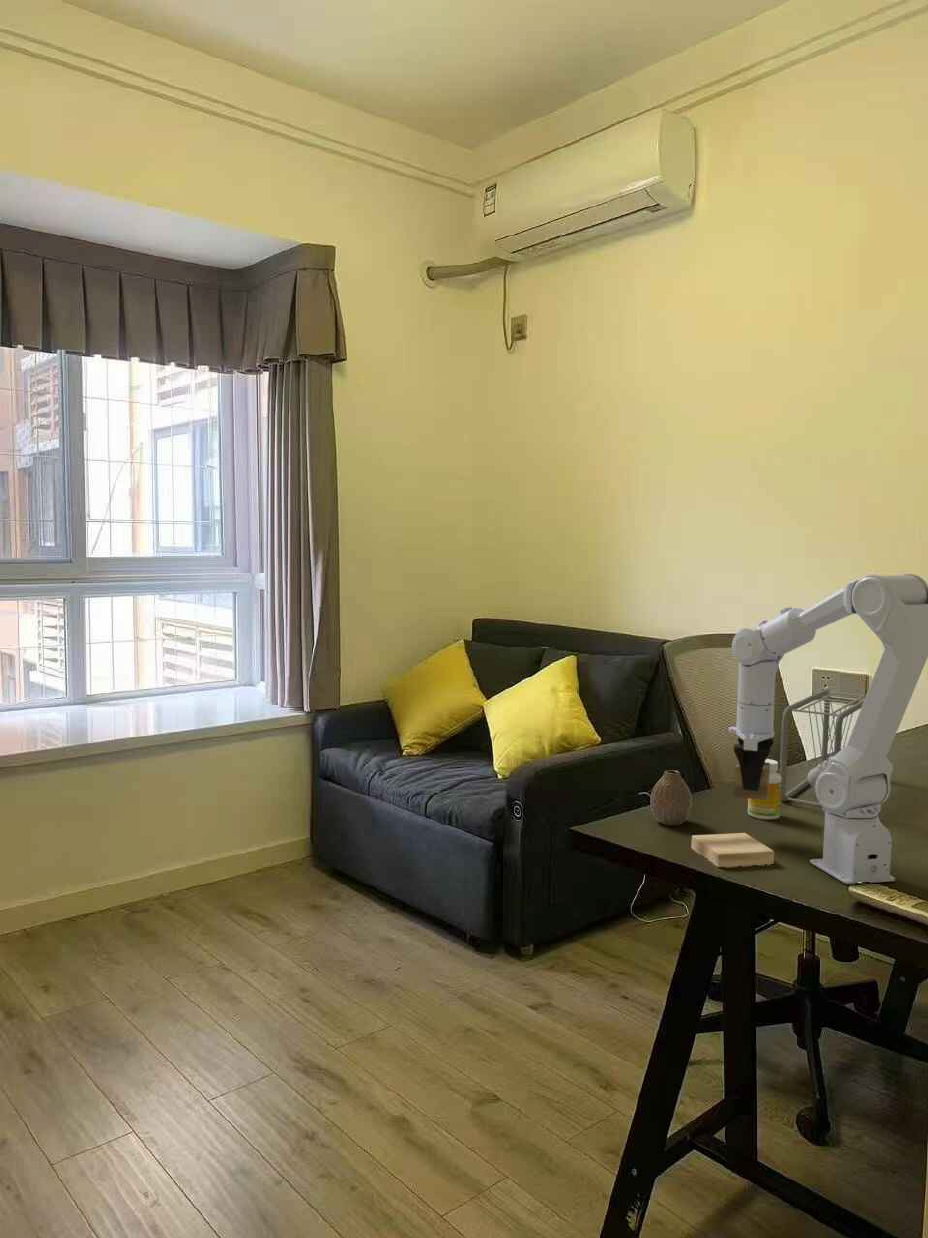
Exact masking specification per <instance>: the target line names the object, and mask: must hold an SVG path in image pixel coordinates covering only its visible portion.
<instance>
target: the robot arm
mask: <svg viewBox="0 0 928 1238" xmlns="http://www.w3.org/2000/svg"><path fill="white" fill-rule="evenodd" d="M779 612H780V614H779V615H777V616H776V617H775V616H774V617H773V618H772V619H770V620H762V621H760V622H759V623H758V626H757V627H756V628H749V627H747V628H744V627H743V628H741V629H740V630H739V631H738V632H737V633H736V634H735V635H734V636H733V639H732V642H731V652H732V655H733V658H734V659H735V660H736V662H737V663H738V675H737V676H738V677H737V678H738V679H737V680H738V682H737V702H736V709H737V710H736V726H729V727H728V733H729V734H735V735H736V736H738V738H737V741H738V743H737V744H736V743H734V744H733V752H734V754H735V756H736V758H737V761H739V765H740V770H741V776H742V783H743V788H744V790H753V791H757V790H758V787H759V783H760V779H761V774H762V769H763V765H764V763H765V760H766V759H768V756H769V755H770V753H771V747H772V746H773V744H774V738H773V737H775V730H774V720H775V719H774V718H775V717H774V715H775V697H776V696H775V695H776V693H775V692H776V674H778V671H779V664H780V662H781V660H782V659H783V658H784V656H785V654H788V653H789V652H792V651H794V650H796V649H797V648H800V647H802V646H804V645H807V644H808V643H810V642H812V641H813V640H814V638H815V635H816V634H817V630H819V629H822V628H823V627H826V626H828V625H830V624H833V623H835V622H837V621H840V620H843V619H845V618H847V617H849V616H851V615H854V614H855V615H856V614H857V616H858V617H860V619H861V620H862V621H863V622H864V623H865V624H866V626H867V627H869V629H870V630H871V631H872V632H873V633H874V635H875V636H876V637H877V638H878V639H879V640H880V642H881V643H882V645H883V647H884V648H883V652H882V654H881V657H880V660H879V662H878V664H877V668H876V670H875V672H874V674H873V675H874V676H873V677H872V680H871V683H870V686H869V687H868V690H867V692H866V697H864V699H865V700H864V699H863V700H864V703H863V705H862V708H860V709H859V710H860V711H859V714H858V716H857V719H856V720H855V724H854V726H853V729H852V730H851V733H850V736H849V738H848V740H847V744H845V745H844V748H843V747H842V748H841V751H839V752H838V753H837V754H836V755H835V756H834V757H833V758H832V759H831V760H830V763H829V765H828V767H827V768H826V769H825V770H824V771H823V772H822V773H820V775H819V776H818V777H817V780H816V784H815V787H814V789H815V796H816V798H817V800H818V803H820V804H821V805H822V806H821V805H820V806H821V807H822V811H823V812H824V827H823V829H824V830H823V844H822V845H823V846H822V848H823V849H822V858H813V859H810V860H809V863H810V864H811V865H813V866H815V867H816V868H818V869H820V870H822V871H823V872H824V873H827V874H828V875H830V876H832V877H833V878H835V879H837V880H838V881H840V882H842V883H843V884H845V885H855V883H858V882H870V883H872V884H873V883H886V882H887V883H888V882H895V881H896V878H895V876H892V875H891V863H892V862H891V861H892V843H893V841H892V836H891V835H892V834H891V832H890V831H889V829H888V828H887V827H886V826H884V825H883V824H882V822H881V821H880V818H879V813H880V812H881V810H882V809H881V807H882V804H884V803H885V802H886V801H887V800H888V798H889V797H890V793H891V788H892V787H891V776H892V773H893V771H894V765H893V764H892V762H891V761H889V759H888V758H887V756H888V755H889V752H890V749H891V746H892V744H893V742H894V740H895V738H896V735H897V732H898V730H899V727H900V726H901V722H902V720H903V718H904V715H905V713H906V710H907V708H908V707H909V705H910V704H909V703H910V701H911V698H912V697H913V693H914V692H915V689H916V686H917V683H918V682H919V679H920V676H921V675H922V673H923V670H924V667H925V665H926V662H927V660H928V582H926V580H925V579H924V578H923V577H921V576H919V575H918V574H914V573H907V574H902V575H897V574H896V575H894V574H893V575H890V574H889V575H878V574H867V575H864V576H862V577H860V578H859V579H856V580H852V581H849V582H848V583H847V584H846V585H845V586H844V587H842V588H841V589H838V590H837V591H835V592H833V593H832V594H831V595H828V596H827V597H826V598H824V599H822V600H821V601H818V602H816V603H815V604H813V605H812V606H810V607H809V608H807V609H805V610H803V609H801V608H799V607H792V606H791V607H784V608H782V609H780V610H779ZM870 883H869V884H870Z"/></svg>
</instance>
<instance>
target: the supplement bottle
mask: <svg viewBox="0 0 928 1238" xmlns="http://www.w3.org/2000/svg"><path fill="white" fill-rule="evenodd" d="M765 762H767V763H770V771H769V793H768V796H767V800H758V799H748V798H747V799H748V801H747V814H748V815H749V816H751V817H752V818H756V819H758V820H776V819H779V818H780V816H781V803H782V801H781V783H782V779H781V776H780V773H779V772H777V771H779V761H777V760H774V759H770V758H766V760H765Z"/></svg>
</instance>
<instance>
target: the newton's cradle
mask: <svg viewBox="0 0 928 1238" xmlns="http://www.w3.org/2000/svg"><path fill="white" fill-rule="evenodd" d="M833 695H840V696H848V697H849V696H850V697H856V698H854V699H853V700H852V701H847V699H848V700H851V698H850V697H849V698H848V697H845V699H846V700H843V702H846V703H847V704H845V703H841V705H843V706H841V707H840V706H838V708H837V709H833V708H835V706H833V704H834V705H838V702H841V700H837V699H834V701H835V702H832V697H833ZM866 695H867V694H866ZM866 695H865V694H859V693H858V694H855V693H848V692H839V691H838V692H837V691H836V692H835V691H829V689H827V688H824V689H822V690H821V691H818V692H816V693H814V694H812V695H809V696H807V697H805V698H803V699H800V700H798V701H796V702H794V703H792V704H790V705H788V706H786V707H785V708H784V710H783V713H782V718H781V719H782V720H781V737H780V738H781V740H780V760H779V775H780V776H781V779H782V783H781V802H783V801H784V802H787V801H792V802H797V803H804V804H808V805H809V804H810V805H815V806H821V807H823V806H822V805H821V804H820V802H816V801H811V800H810V801H808V800H804V799H803V800H802V799H796V798H792V797H794V796H795V795H796V794H798V793H800V792H801V791H802V790H803V789H805V788H806V787H808V786H809V785H810V786H811V787H813V788H815V784H816V780H817V777H818V776H819V775H820V773H822V772H823V771H824V770H825V769H826V768H827V767H828V765H829V763H830V760H831V759H832V758H833V757H834V756H835V755H836V754H837V753H838V752H839V751H841V750H842V749H843V748H844V747H845V746H846V741H847V737H848V733H849V730H850V726H851V722H852V718H853V715H854V713H855V712H857V711H859V710H861V708H862V705H863V703H864V700H865V698H866ZM840 696H835V698H838V699H842V697H840ZM857 697H858V698H857ZM862 699H863V700H862ZM836 701H837V703H836ZM822 702H823V704H821V703H822ZM856 702H857V703H856ZM818 703H819V707H820V708H818V707H816V706H817V704H818ZM807 704H808V705H807ZM812 706H813V707H812ZM822 707H823V709H822ZM805 709H808V710H805ZM810 709H814V711H813V710H810ZM817 709H818V710H820V711H817ZM822 710H823V711H822ZM842 710H843V711H842ZM830 711H831V712H830ZM792 712H798V713H805V714H807V713H808V716H809V721H810V722H809V723H810V724H809V725H810V730H811V736H812V737H811V738H812V743H813V744H812V746H813V752H814V759H815V760H814V761H815V767H814V768H812V769H811V770H810V771H809V772H808V773H807V778H806V779H804V780H803V781H801V782H800V783H798V784H797V785H796V786H794V787H793V788H792V789H790V790H789V791H787V792H786V784H787V783H786V781H787V766H788V764H787V763H788V762H787V761H788V741H789V724H790V723H789V721H790V715H791V713H792ZM838 712H839V713H838ZM811 714H814V715H815V722H816V728H817V735H818V736H817V737H818V742H819V747H820V756H821V757H820V759H821V760H820V763H819V764H818V763H817V755H816V748H815V747H816V746H815V742H814V741H815V740H814V732H813V727H812V726H813V725H812V718H811ZM817 715H820V716H821V722H822V723H821V724H822V737H821V738H820V732H819V725H818V718H817V717H818V716H817ZM830 716H832V722H831V725H830ZM849 716H850V719H849V723H848V726H847V725H846V724H847V722H848V718H849ZM835 717H836V720H835ZM844 719H846V720H845V723H843V722H844ZM843 724H844V727H843ZM830 726H831V727H830ZM846 726H847V731H846V733H845V729H846ZM833 728H834V732H833V736H831V735H832V734H831V733H832V729H833ZM844 733H845V734H846V735H845V739H844V743H843V747H842V741H843V736H844ZM829 740H830V747H829ZM833 743H834V744H833ZM833 745H834V746H833ZM828 747H829V748H830V749H829V751H828ZM831 752H832V755H831ZM830 755H831V756H830Z"/></svg>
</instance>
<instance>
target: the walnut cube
mask: <svg viewBox="0 0 928 1238" xmlns="http://www.w3.org/2000/svg"><path fill="white" fill-rule="evenodd" d="M769 771H770V763H767V762H765V763H764V765H763V769H762V774H761V779H760V783H759V787H758V790H757V791H753V790H744V788H743V783H742V776H741V770H740V765H739V761H738V760H737V762H736V763H735V766H734V786H733V787H734V791H733V792H734V793H733V797H734V798H741V799H758V800H767V796H768V793H769Z"/></svg>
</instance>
